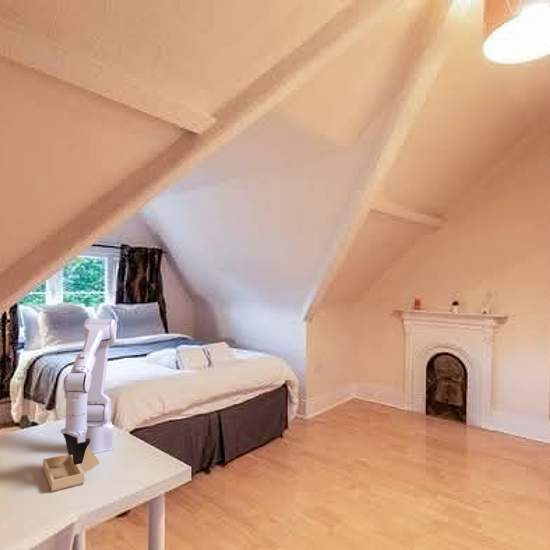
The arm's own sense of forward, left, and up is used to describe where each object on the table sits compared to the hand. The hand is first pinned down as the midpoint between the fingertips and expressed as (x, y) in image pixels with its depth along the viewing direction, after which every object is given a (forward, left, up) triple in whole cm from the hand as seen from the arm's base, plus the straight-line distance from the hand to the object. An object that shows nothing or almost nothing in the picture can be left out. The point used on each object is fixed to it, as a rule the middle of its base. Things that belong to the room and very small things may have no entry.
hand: (75, 458), depth 125 cm
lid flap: (-3, 0, 0) cm, 3 cm away
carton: (+3, 0, -4) cm, 6 cm away
